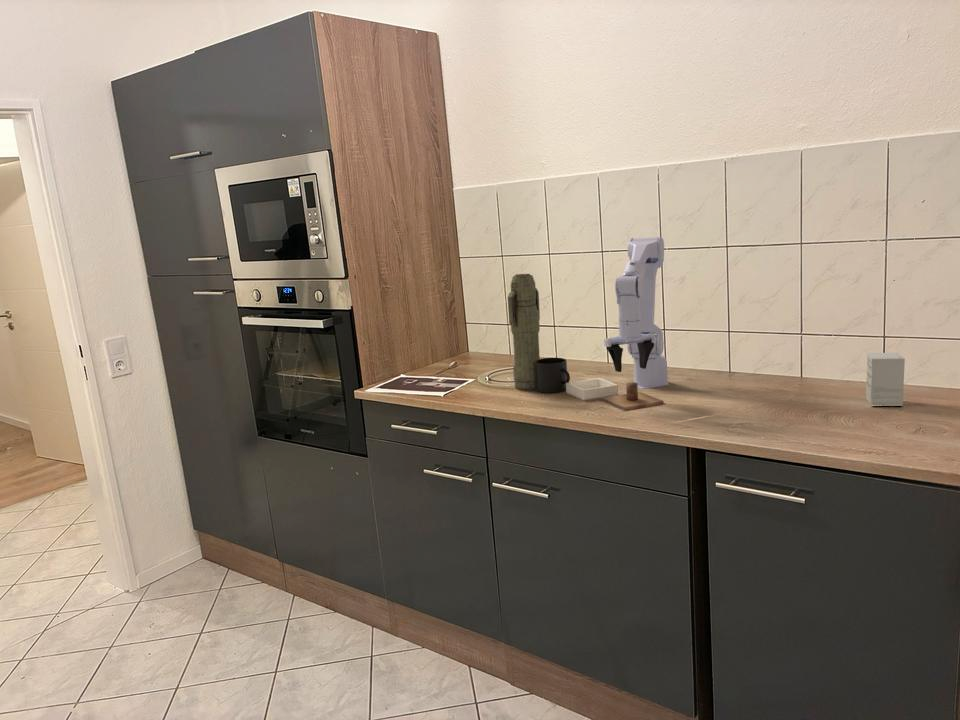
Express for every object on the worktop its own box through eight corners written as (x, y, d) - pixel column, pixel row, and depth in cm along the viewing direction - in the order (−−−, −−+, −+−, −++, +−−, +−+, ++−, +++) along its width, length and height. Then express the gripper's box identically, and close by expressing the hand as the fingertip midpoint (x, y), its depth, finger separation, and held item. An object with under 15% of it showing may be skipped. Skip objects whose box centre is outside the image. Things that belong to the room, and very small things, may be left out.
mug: (559, 396, 216) (558, 366, 214) (530, 390, 225) (528, 361, 223) (580, 389, 222) (579, 360, 220) (551, 384, 231) (550, 356, 229)
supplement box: (897, 400, 189) (899, 352, 187) (903, 408, 182) (905, 358, 180) (865, 399, 192) (867, 352, 189) (869, 407, 185) (871, 358, 182)
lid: (639, 394, 210) (639, 376, 209) (663, 403, 199) (663, 384, 198) (602, 400, 206) (601, 382, 205) (624, 410, 195) (624, 391, 194)
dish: (599, 389, 221) (598, 377, 220) (618, 396, 211) (617, 384, 210) (566, 394, 217) (565, 382, 217) (583, 402, 207) (583, 390, 206)
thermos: (505, 389, 229) (498, 276, 222) (528, 381, 237) (522, 272, 230) (527, 392, 223) (521, 276, 216) (551, 383, 231) (545, 272, 224)
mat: (640, 395, 211) (640, 393, 211) (666, 405, 199) (666, 403, 199) (599, 401, 207) (599, 400, 206) (624, 412, 195) (624, 411, 194)
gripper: (613, 324, 192) (614, 375, 195) (661, 319, 197) (661, 369, 199) (600, 321, 199) (601, 370, 201) (647, 316, 203) (647, 364, 206)
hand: (630, 369), depth 201 cm, fingers open, 7 cm apart
